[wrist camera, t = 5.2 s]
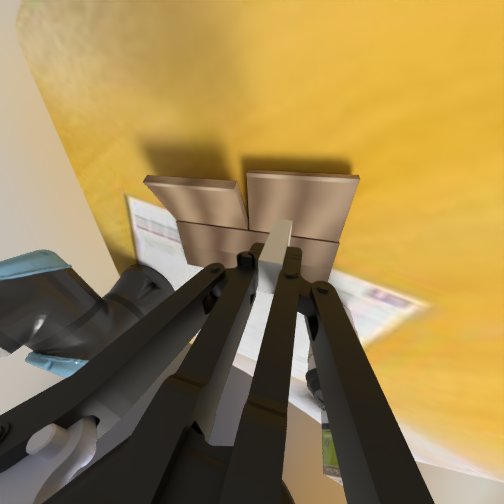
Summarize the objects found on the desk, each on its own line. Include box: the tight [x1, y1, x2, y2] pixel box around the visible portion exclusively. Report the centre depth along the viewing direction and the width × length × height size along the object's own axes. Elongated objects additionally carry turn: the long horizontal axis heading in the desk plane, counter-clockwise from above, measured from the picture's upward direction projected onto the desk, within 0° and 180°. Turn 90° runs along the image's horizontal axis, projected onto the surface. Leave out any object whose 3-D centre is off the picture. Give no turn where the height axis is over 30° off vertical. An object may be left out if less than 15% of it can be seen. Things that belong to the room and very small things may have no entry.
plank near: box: [246, 170, 360, 242], centre depth 26 cm, size 14×9×1 cm, turn 91°
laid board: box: [176, 220, 339, 283], centre depth 33 cm, size 28×10×1 cm, turn 91°
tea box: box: [321, 410, 343, 485], centre depth 53 cm, size 15×10×15 cm
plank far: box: [143, 175, 249, 229], centre depth 28 cm, size 14×9×1 cm, turn 91°
